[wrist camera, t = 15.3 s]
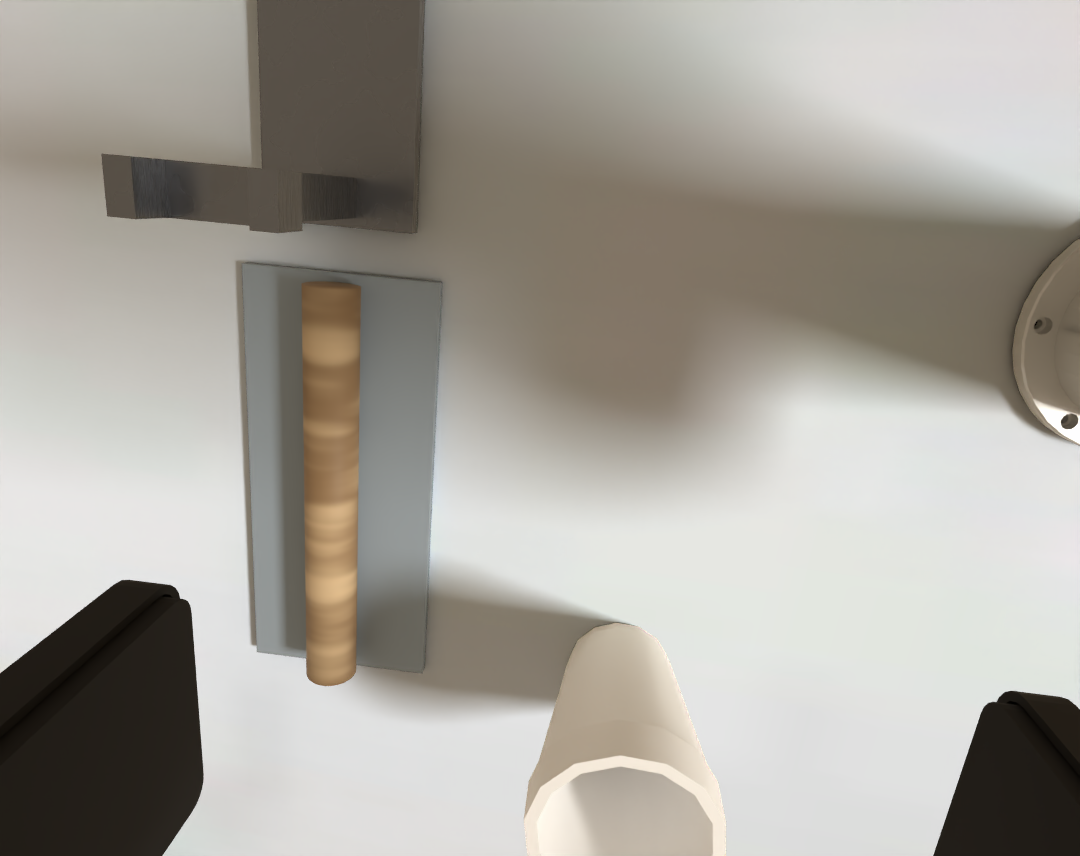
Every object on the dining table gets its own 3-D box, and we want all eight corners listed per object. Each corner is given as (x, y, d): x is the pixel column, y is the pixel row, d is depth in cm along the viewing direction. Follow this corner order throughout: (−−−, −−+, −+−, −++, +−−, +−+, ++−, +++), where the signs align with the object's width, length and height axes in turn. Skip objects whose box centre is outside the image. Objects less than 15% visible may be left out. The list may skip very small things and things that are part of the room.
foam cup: (534, 711, 47) (510, 892, 35) (556, 589, 44) (538, 740, 32) (677, 737, 47) (703, 929, 35) (708, 617, 44) (749, 779, 32)
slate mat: (442, 282, 39) (439, 283, 39) (424, 667, 47) (422, 673, 46) (246, 262, 40) (241, 263, 39) (261, 646, 47) (256, 651, 47)
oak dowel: (315, 279, 39) (292, 285, 36) (368, 285, 39) (349, 291, 36) (317, 652, 46) (298, 682, 44) (362, 658, 46) (346, 688, 43)
